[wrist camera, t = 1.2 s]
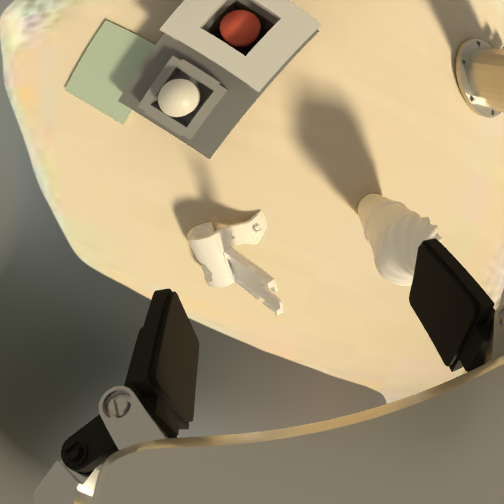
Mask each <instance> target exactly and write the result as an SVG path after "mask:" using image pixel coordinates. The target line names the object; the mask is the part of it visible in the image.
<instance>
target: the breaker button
mask: <svg viewBox="0 0 504 504" xmlns="http://www.w3.org/2000/svg"><path fill="white" fill-rule="evenodd" d="M260 28H261V26H260V21H259V19H258V18H257V17H256V16H255V15H254V14H253V13H251V12H249V11H245V10H236V11H232V12H230V13H228V14H227V15H225V16H224V18H223V19H222V20H221V23H220V32H221V35H222V38H223V40H224V41H225V43H227V44H228V45H229V46H231V47H234V48H245V47H248V46H250V45H251V44H253V43H254V42H255V41H256V39H257V37H258V35H259V32H260Z"/></svg>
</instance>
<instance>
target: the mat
mask: <svg viewBox="0 0 504 504" xmlns="http://www.w3.org/2000/svg"><path fill="white" fill-rule="evenodd" d="M154 46H155V44H153V43H151V42H150V41H148V40H146V39H144V38H142V37H140V36H138V35H136V34H134V33H132V32H130V31H128V30H126V29H124V28H122V27H120V26H118V25H116V24H113V23H111V22H109V21H107V20H106V21H105V22H104V24H103V25H102V27H101V28H100V29H99V31H98V32H97V34H96V35H95V37H94V39H93V40H92V42H91V43H90V45H89V47H88V48H87V50H86V51H85V53H84V55H83V56H82V58H81V60H80V62H79V63H78V65H77V67H76V69H75V71H74V73H73V74H72V76H71V78H70V80H69V82H68V84H67V86H66V88H65V90H66V91H67V92H69V93H71V94H73V95H74V96H76V97H78V98H79V99H81V100H83V101H84V102H86V103H88V104H90V105H91V106H93V107H95V108H96V109H98V110H100V111H101V112H103V113H105V114H106V115H108V116H110V117H111V118H113V119H115V120H116V121H118V122H119V123H121V124H125V122H126V120H127V119H128V117H129V115H130V114H131V112H132V109H130V108H129V107H127V106H125V105H124V104H122V103H120V102H119V101H118V100H119V98H120V97H121V95H122V93H123V92H124V90H125V88H126V87H127V85H128V84H129V82H130V81H131V79H132V77H133V76H134V74H135V73H136V71H137V70H138V68H139V67H140V65H141V64H142V63H143V61H144V60H145V58H146V57H147V55H148V54H149V53H150V51H151V50H152V49H153V47H154Z"/></svg>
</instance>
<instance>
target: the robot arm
mask: <svg viewBox="0 0 504 504" xmlns="http://www.w3.org/2000/svg"><path fill="white" fill-rule="evenodd" d="M456 76H457V81H458V85H459V88H460V91H461V93H462V96H463V97H464V99H465V101H466V103H467V104H468V105H469V107H470V108H471V109H472V110H473V111H474V112H476V113H477V114H479V115H481V116H484V117H489V118H491V117H495V116H497V115H499V114H500V113H501V112H504V47H503V49H498V48H493V47H492V46H491V45H490V44H489V43H487V42H485V41H484V40H480V39H469V40H466V41H465V42H463V44H462V45H461V46H460V48H459V50H458V53H457V57H456ZM409 301H410V305H411V306H412V308H413V310H414V311H415V313H416V315H417V316H418V318H419V320H420V321H421V323H422V325H423V326H424V328H425V330H426V331H427V333H428V335H429V337H430V338H431V340H432V342H433V344H434V345H435V347H436V349H437V351H438V353H439V355H440V356H441V358H442V360H443V362H444V364H445V365H446V366H449V367H450V369H451V371H452V372H453V371H455V370H458V369H460V368H462V367H464V369H465V374H463V375H461V376H458V377H456V378H454V379H452V380H450V381H447V382H445V383H443V384H440V385H438V386H435V387H433V388H430V389H428V390H425V391H423V392H420V393H418V394H415V395H412V396H409V397H407V398H404V399H401V400H398V401H395V402H392V403H389V404H386V405H383V406H379V407H376V408H373V409H369V410H366V411H362V412H359V413H355V414H351V415H347V416H344V417H339V418H335V419H330V420H326V421H321V422H317V423H312V424H307V425H301V426H296V427H290V428H284V429H277V430H270V431H262V432H253V433H244V434H233V435H221V436H205V437H186V438H178V437H177V435H178V431H179V429H188V428H189V422H191V421H193V416H194V402H195V389H196V376H197V365H198V355H199V341H198V338H197V336H196V334H195V332H194V330H193V327H192V325H191V323H190V321H189V319H188V317H187V315H186V312H185V310H184V308H183V306H182V304H181V301H180V299H179V297H178V295H177V293H176V292H172V291H171V289H163V290H157V291H155V292H154V294H153V297H152V300H151V303H150V307H149V310H148V313H147V316H146V320H145V323H144V327H142V328H141V329H140V331H139V334H138V338H137V341H136V344H135V348H134V351H133V355H132V359H131V362H130V366H129V370H128V374H127V377H126V381H125V386H117V387H113V388H112V389H109V390H108V391H107V392H106V393H105V394H104V395H103V396H102V398H101V400H100V403H99V413H100V414H99V415H98V416H97V417H95V418H94V419H93V420H92V421H90V422H89V423H88V424H86V425H85V426H84V427H82V428H81V429H80V430H78V431H77V432H76V433H74V434H73V435H72V436H70V437H69V438H68V439H67V440H66V441H65V442H64V444H63V446H62V450H61V458H62V460H61V462H59V461H57V462H56V463H55V464H54V466H53V467H52V468H51V470H50V471H49V472H48V474H47V475H46V477H45V478H44V479H43V480H42V482H41V483H40V485H39V486H38V487H37V489H36V491H35V493H34V502H35V504H504V305H503V306H500V307H498V308H497V309H496V311H495V309H494V308H493V306H494V302H493V301H492V300H491V299H490V297H489V296H488V295H487V294H486V292H485V291H484V290H483V289H482V288H481V287H480V285H479V284H478V283H477V282H476V281H475V279H474V278H473V277H472V276H471V275H470V274H469V273H468V272H467V270H466V269H465V268H464V267H463V266H462V265H461V264H460V263H459V262H458V261H457V259H456V258H455V257H454V256H453V255H452V254H451V253H450V252H449V251H448V250H447V249H446V248H445V247H444V246H443V245H442V244H441V243H440V242H439V241H438V240H437V239H435V238H433V239H429V240H424V241H422V243H421V245H420V246H419V247H418V251H417V258H416V264H415V270H414V275H413V281H412V286H411V291H410V295H409Z"/></svg>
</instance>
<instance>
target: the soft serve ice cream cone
mask: <svg viewBox="0 0 504 504" xmlns="http://www.w3.org/2000/svg"><path fill="white" fill-rule="evenodd" d="M358 215H359V218H360V220H361V223H362V226H363V229H364V234H365V238H366V240H367V242H368V243H369V244H370V245H371V247H372V249H373V253H374V260H375V264H376V268H377V270H378V272H379V273H380V274H381V276H382V277H383V278H384V279H386V280H387V281H389V282H391V283H394V284H398V285H403V286H409V285H412V281H413V275H414V270H415V264H416V258H417V251H418V247H419V246H420V245H421V243H422V241H424V240H429V239H433V238H435V239H437V240H438V241H439V242H440V243H441V241H442V238H441V237H440V236H439V235H438V226H437V225H431V224H430V220H429V218H428V217H423V218H422V217H421V216H420V215H419V214H417V213H416V212H414V211H411V210H409V209H408V208H407V207H406V206H405V205H404V204H402V203H400V202H397V201H393V200H390V199H388V198H386V197H383V196H381V195H379V194H374V193H372V194H368V195H366V196H365V197H363V198H362V200H361V201H360V203H359V205H358Z"/></svg>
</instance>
